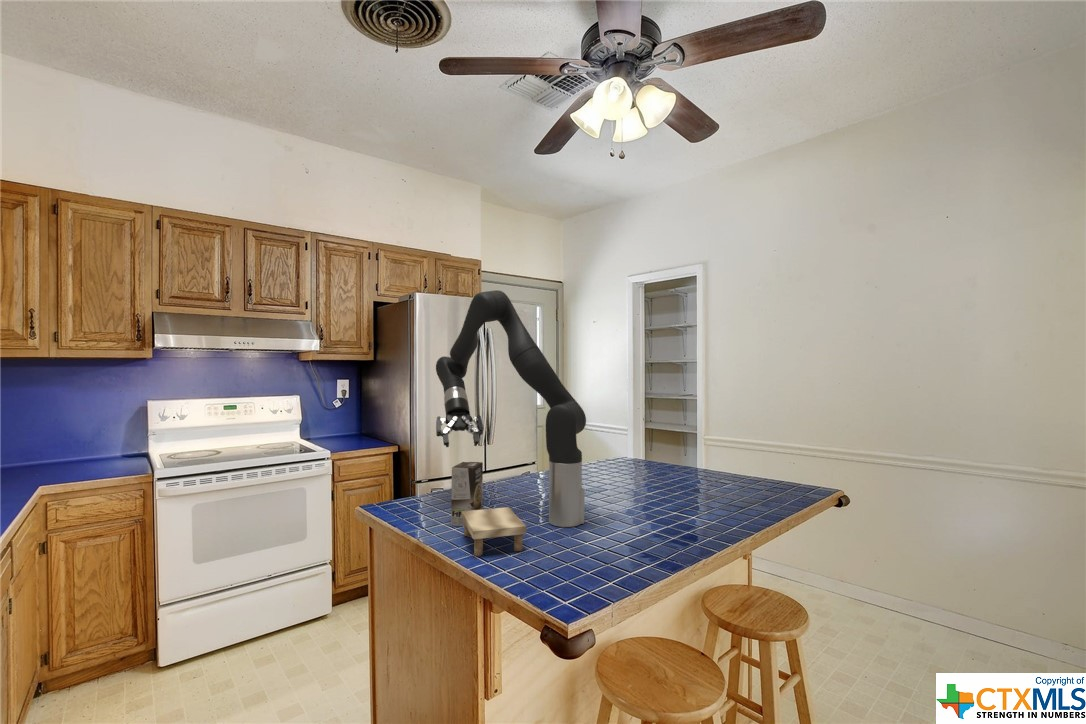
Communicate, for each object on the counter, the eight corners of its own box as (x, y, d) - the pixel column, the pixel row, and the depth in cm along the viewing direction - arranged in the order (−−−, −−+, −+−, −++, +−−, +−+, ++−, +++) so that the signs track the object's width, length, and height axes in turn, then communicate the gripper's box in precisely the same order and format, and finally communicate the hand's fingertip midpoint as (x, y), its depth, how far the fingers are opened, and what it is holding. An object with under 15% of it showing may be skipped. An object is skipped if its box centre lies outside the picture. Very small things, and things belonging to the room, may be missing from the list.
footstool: (508, 529, 134) (508, 507, 134) (526, 551, 118) (526, 526, 119) (461, 534, 130) (461, 511, 130) (473, 557, 115) (473, 531, 115)
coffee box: (472, 527, 136) (473, 468, 136) (450, 526, 137) (450, 467, 137) (483, 517, 145) (483, 461, 145) (462, 516, 146) (462, 460, 146)
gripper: (435, 396, 157) (439, 438, 146) (479, 396, 162) (487, 436, 151) (433, 412, 162) (437, 453, 151) (476, 411, 167) (483, 451, 156)
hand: (462, 445), depth 151 cm, fingers open, 8 cm apart
